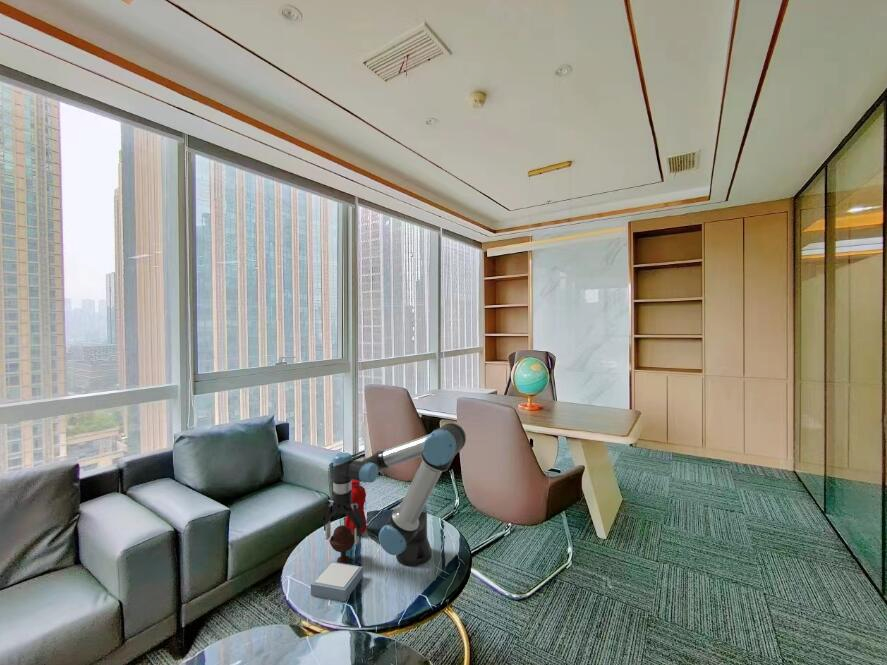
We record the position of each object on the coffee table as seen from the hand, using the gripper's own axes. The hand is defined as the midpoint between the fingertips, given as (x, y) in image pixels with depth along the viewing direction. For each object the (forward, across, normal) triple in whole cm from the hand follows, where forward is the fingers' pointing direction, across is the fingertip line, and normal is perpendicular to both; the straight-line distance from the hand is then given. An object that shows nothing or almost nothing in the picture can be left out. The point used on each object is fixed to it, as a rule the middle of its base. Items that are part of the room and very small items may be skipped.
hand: (342, 540), depth 162 cm
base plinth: (+8, -7, +15) cm, 18 cm away
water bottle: (+9, +4, -22) cm, 24 cm away
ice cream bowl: (+8, -1, 0) cm, 8 cm away
